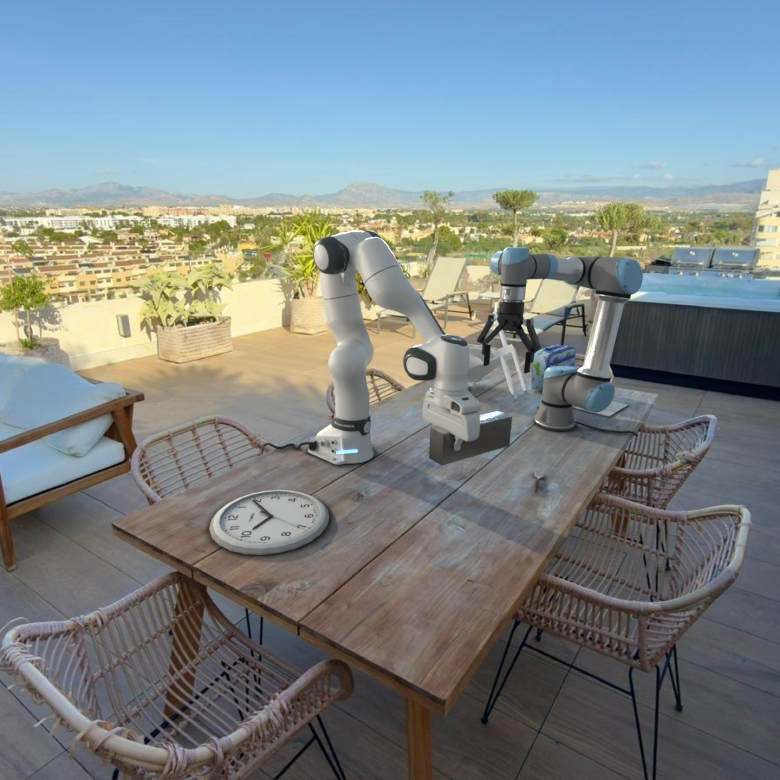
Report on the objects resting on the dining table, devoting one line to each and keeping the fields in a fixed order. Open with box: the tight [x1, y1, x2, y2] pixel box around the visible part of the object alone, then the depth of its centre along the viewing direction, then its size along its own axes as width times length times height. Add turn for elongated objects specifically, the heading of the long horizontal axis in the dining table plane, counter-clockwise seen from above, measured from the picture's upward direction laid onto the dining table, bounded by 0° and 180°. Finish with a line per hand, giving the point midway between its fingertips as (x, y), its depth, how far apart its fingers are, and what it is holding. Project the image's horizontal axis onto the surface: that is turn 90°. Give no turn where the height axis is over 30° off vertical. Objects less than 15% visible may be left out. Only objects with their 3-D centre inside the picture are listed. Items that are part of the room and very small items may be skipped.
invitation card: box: [573, 400, 629, 418], centre depth 226 cm, size 21×1×15 cm
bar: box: [428, 410, 513, 467], centre depth 147 cm, size 25×6×9 cm, turn 123°
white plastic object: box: [467, 310, 531, 400], centre depth 245 cm, size 37×45×31 cm
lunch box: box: [530, 344, 577, 392], centre depth 247 cm, size 26×11×21 cm, turn 134°
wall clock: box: [209, 489, 330, 556], centre depth 135 cm, size 30×2×30 cm
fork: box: [534, 465, 545, 494], centre depth 157 cm, size 3×16×2 cm, turn 160°
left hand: (447, 445), depth 142 cm, fingers closed on bar, 5 cm apart
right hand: (506, 368), depth 163 cm, fingers open, 13 cm apart
